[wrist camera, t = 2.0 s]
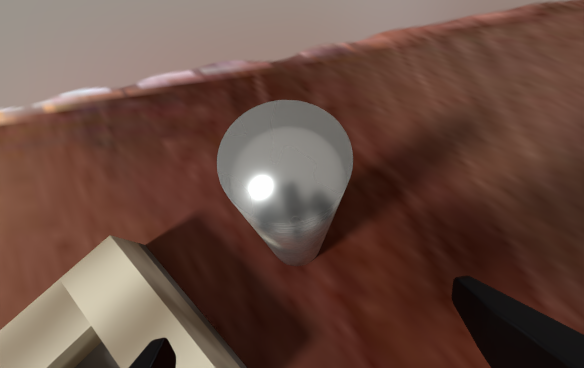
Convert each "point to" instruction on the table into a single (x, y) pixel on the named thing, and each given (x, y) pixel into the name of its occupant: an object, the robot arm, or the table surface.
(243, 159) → the steel pin
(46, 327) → the socket block
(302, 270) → the table surface
